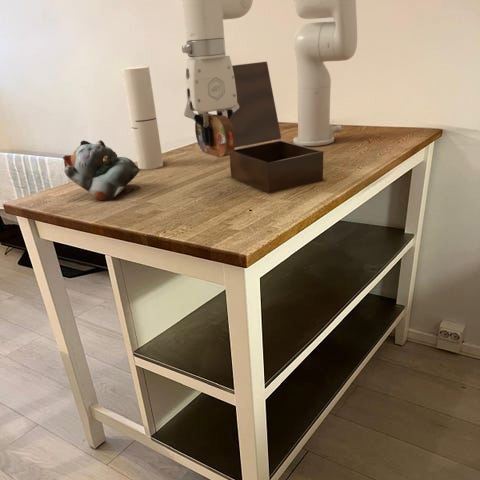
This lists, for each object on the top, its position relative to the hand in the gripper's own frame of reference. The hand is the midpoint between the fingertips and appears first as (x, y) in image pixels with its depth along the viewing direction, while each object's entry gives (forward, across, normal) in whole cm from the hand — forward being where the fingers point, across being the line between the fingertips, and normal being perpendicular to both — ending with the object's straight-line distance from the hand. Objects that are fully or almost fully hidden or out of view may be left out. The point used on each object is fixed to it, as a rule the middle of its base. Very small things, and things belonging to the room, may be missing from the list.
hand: (215, 143), depth 108 cm
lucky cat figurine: (+11, -22, +17) cm, 30 cm away
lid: (-5, +15, +10) cm, 19 cm away
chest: (+11, +15, -1) cm, 18 cm away
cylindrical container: (+11, -4, +35) cm, 37 cm away
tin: (+2, 0, 0) cm, 3 cm away
